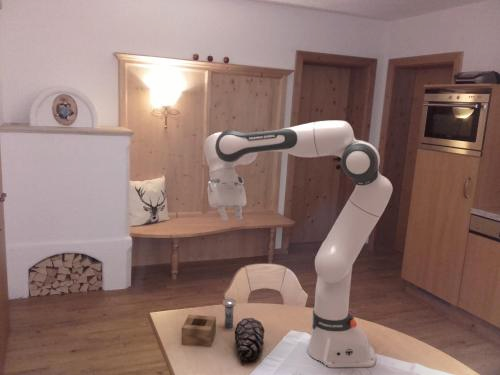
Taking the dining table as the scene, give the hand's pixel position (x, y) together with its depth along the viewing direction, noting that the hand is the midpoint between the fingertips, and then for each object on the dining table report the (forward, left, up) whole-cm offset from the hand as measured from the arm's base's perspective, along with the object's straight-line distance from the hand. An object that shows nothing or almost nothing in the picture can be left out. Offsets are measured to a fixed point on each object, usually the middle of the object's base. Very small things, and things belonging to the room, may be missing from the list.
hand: (232, 219), depth 150 cm
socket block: (+11, +1, -43) cm, 45 cm away
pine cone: (-8, +8, -44) cm, 45 cm away
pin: (+2, -9, -43) cm, 44 cm away
